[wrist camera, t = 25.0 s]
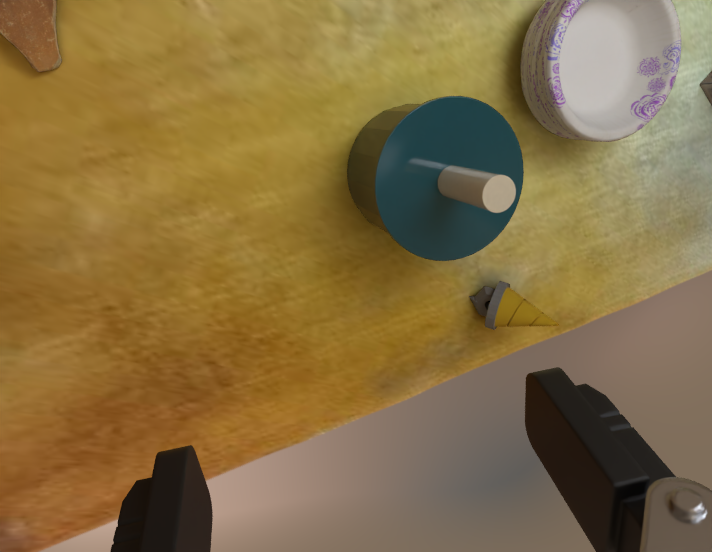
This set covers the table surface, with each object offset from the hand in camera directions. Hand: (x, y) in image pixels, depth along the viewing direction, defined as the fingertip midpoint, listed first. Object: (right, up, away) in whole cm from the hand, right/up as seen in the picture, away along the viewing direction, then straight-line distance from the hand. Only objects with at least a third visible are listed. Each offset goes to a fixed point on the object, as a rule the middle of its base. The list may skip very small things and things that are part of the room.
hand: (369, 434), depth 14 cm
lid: (+8, +12, +36) cm, 39 cm away
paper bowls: (+22, +26, +47) cm, 58 cm away
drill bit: (+16, +1, +52) cm, 55 cm away
